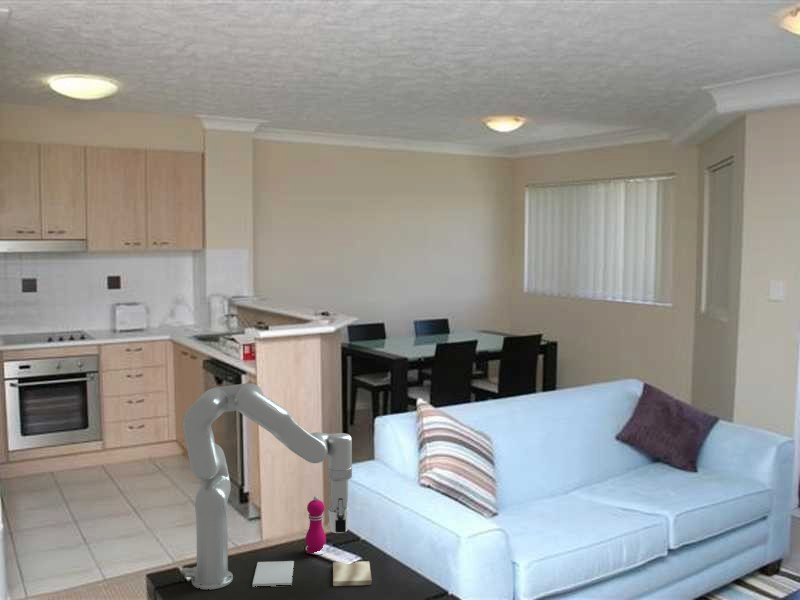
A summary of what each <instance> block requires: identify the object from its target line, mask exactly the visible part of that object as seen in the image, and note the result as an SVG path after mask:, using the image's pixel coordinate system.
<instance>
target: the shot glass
mask: <svg viewBox="0 0 800 600" xmlns="http://www.w3.org/2000/svg"><path fill="white" fill-rule="evenodd" d="M337 510H339V508H337ZM342 510H344V506H343V508H342ZM327 511H328V519H329V520H328V521H329V529H330V532H331V533H333V534H334V533H335V534H342V533H343V534H344V533H346V532H347V531H348V530H349V529H348V528H349V522H350V521H349V518H350V507H349V506H348V505H347V510H346V511H345V519H346V531H345V532H336V527H335V520H336V511H332V505H331V506H329V507H328V509H327ZM338 514H339V512H338Z"/></svg>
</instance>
